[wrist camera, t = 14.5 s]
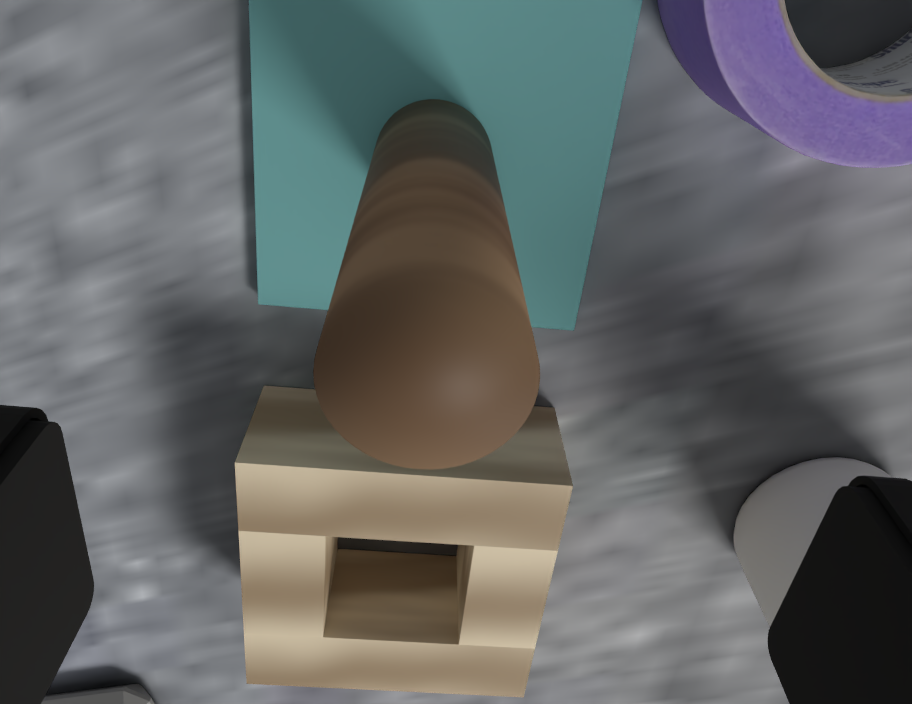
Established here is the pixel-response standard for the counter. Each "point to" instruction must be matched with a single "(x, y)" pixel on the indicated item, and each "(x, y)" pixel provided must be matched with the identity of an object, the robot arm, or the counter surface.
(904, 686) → the robot arm
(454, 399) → the walnut peg
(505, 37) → the teal mat
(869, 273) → the counter surface
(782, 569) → the milk bottle
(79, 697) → the decorative plate
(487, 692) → the eye block
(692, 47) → the tape roll
